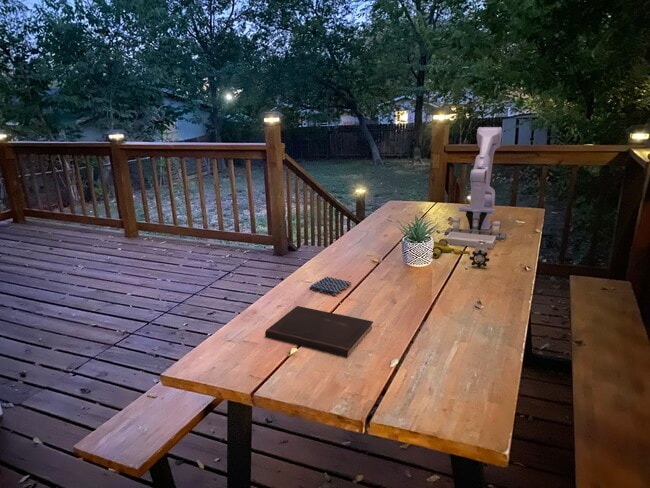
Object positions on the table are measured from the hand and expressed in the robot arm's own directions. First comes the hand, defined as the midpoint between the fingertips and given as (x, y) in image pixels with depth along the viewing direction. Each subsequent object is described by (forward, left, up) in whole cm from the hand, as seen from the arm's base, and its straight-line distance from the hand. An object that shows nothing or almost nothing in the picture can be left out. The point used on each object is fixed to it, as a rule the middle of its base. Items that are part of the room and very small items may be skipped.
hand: (475, 229), depth 192 cm
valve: (+33, +7, -3) cm, 33 cm away
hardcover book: (+101, -22, -4) cm, 103 cm away
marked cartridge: (0, 0, -2) cm, 2 cm away
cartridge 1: (0, -8, -3) cm, 9 cm away
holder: (0, 0, -3) cm, 3 cm away
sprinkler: (+27, -7, -3) cm, 28 cm away
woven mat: (+74, -32, -4) cm, 81 cm away
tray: (+11, 0, -3) cm, 11 cm away
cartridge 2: (0, +8, -3) cm, 9 cm away
